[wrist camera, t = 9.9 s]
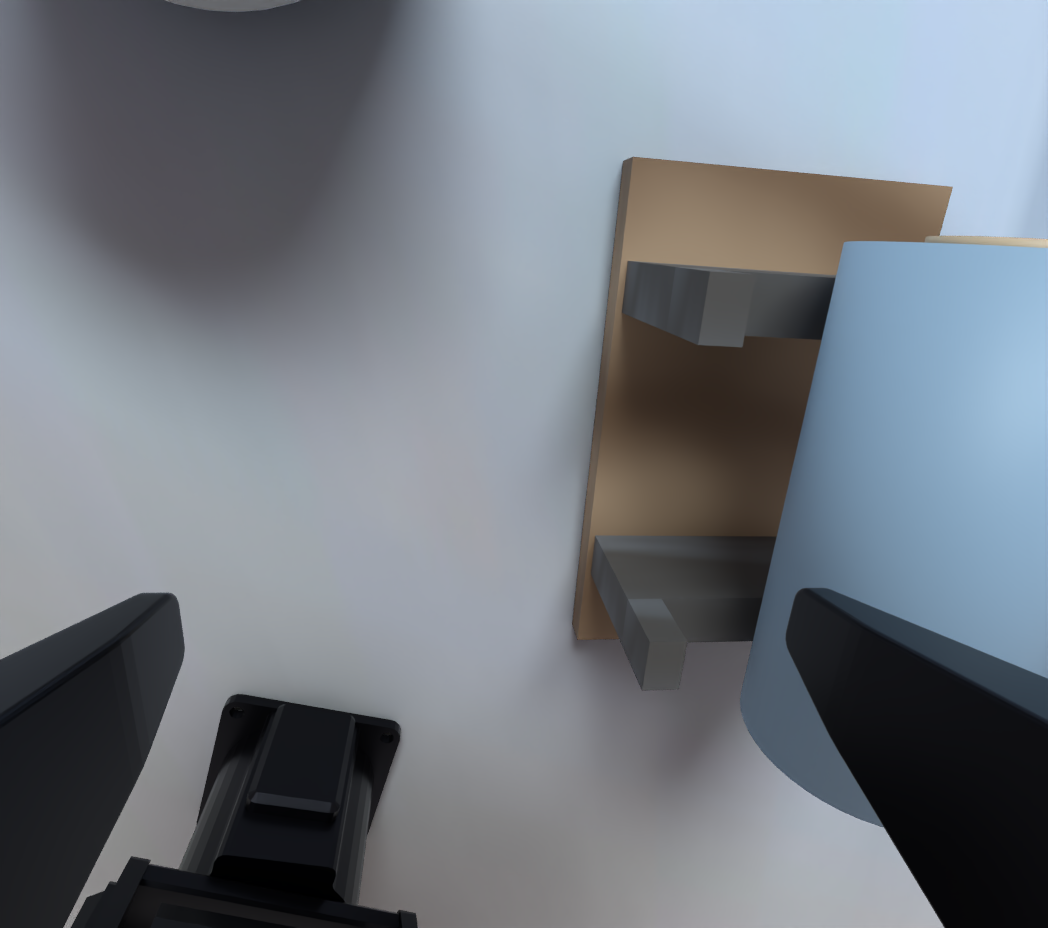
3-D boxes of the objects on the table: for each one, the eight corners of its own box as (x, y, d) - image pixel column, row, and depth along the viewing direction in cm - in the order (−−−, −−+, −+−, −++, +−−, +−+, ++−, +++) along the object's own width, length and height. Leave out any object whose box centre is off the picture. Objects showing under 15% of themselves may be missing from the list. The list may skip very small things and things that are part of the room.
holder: (814, 620, 25) (946, 755, 18) (572, 624, 24) (621, 771, 17) (928, 189, 20) (1171, 165, 13) (623, 160, 18) (724, 118, 12)
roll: (836, 647, 20) (1047, 790, 15) (693, 693, 18) (888, 884, 13) (951, 245, 16) (1294, 257, 11) (784, 228, 13) (1133, 233, 8)
